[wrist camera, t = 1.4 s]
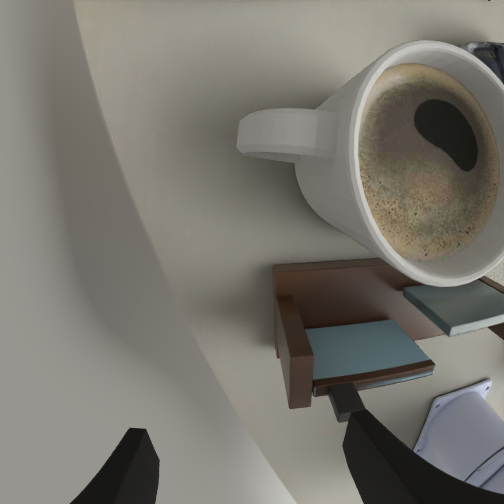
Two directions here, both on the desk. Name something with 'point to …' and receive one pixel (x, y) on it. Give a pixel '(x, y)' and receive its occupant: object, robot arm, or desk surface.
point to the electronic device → (488, 55)
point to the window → (369, 309)
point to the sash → (362, 361)
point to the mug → (403, 160)
